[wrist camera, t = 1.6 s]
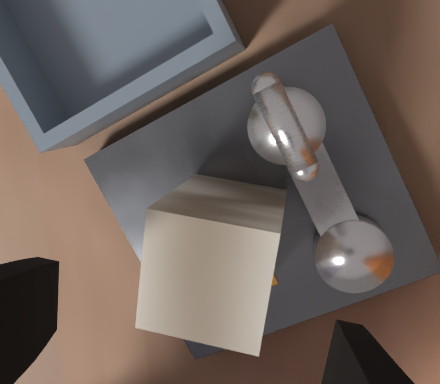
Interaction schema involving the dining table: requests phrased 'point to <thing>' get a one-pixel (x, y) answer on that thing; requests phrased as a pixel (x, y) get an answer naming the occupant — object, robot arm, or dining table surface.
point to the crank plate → (275, 175)
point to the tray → (103, 59)
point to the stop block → (210, 262)
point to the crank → (318, 185)
